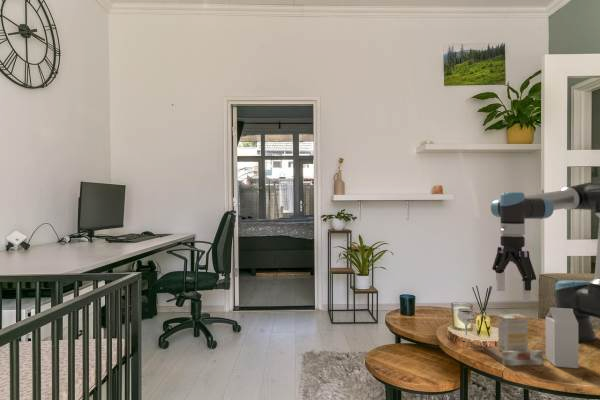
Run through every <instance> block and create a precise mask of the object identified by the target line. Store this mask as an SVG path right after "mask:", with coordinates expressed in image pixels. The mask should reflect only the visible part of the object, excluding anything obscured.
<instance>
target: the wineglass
mask: <svg viewBox="0 0 600 400" xmlns="http://www.w3.org/2000/svg"><path fill="white" fill-rule="evenodd" d="M475 312H476V310H475V309H471V308H463V307H462V308H461V307H459V308H457V313H456V314H457V315H456V317H457V319H458V320H459V321H460V322H461V323H462V324H463V325H464V329H465V336H466V335H467V336H468V325H469V324H471V323H473V322H475V319H476V314H475Z"/></svg>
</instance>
